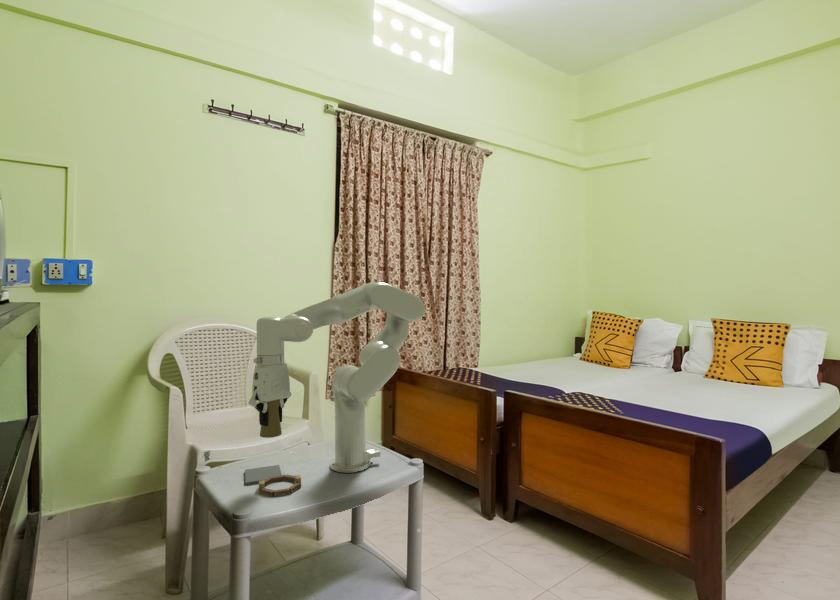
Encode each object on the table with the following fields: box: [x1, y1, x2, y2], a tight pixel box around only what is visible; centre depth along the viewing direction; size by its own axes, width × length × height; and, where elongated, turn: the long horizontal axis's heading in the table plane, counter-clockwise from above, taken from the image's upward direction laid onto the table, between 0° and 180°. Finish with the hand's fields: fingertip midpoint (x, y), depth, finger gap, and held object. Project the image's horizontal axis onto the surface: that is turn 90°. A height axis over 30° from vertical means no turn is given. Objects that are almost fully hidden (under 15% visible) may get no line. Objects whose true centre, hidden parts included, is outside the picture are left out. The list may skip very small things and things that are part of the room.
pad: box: [244, 464, 283, 486], centre depth 137 cm, size 10×10×1 cm
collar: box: [258, 474, 302, 498], centre depth 129 cm, size 11×11×2 cm
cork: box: [259, 399, 283, 439], centre depth 132 cm, size 6×6×11 cm
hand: (271, 422), depth 132 cm, fingers closed on cork, 4 cm apart
